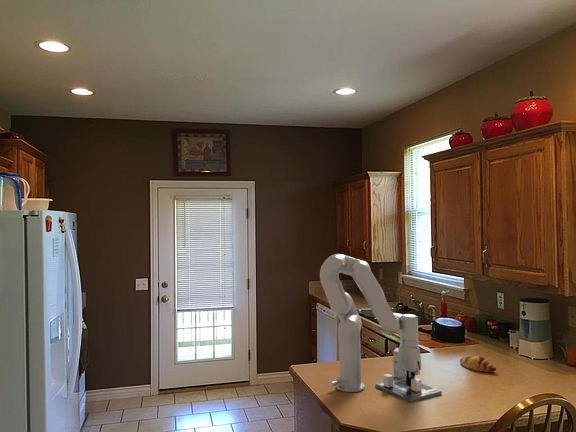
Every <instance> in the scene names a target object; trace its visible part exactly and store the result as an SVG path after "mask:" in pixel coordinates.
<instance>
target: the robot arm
mask: <svg viewBox="0 0 576 432" xmlns="http://www.w3.org/2000/svg"><path fill="white" fill-rule="evenodd" d="M339 274H344V275H348V276H350V277H352V279H353V280H354V282H355V283H356V285H357V287H358V288H359V290H360V292H361V293H362V295H363V297H364V298H365V300H366V302H367V305H368V306H369V308H370V310H371V311H372V314H373V315H374V317H375V319H376V320H377V322H378V324H379V325H380V327H381V329H382V330H383V331H384V332H385V333H386V334H390V335H393V334H397V332H398V331H399V330H400V338H399V342H400V344H399V345H398V348H399V351H398V366H399V367H400V368H401V369H402V370H403V371H404V373H405V376H406V386H409V387H410V386H411V379H414V377H415V378H416V376H418V375H420V374H421V372H420V371H421V369H422V361H421V360H422V359H421V357H422V356H421V351H420V347H419V319H418V316H417V315H415V314H411V313H405V314H404V313H403V314H402V313H396V312H393V310H392V309H391V307H390V304H388V301H387V298H386V295H385V292H384V290H383V288H382V287H381V285H380V283H379V282H378V280H377V278H376V277H375V275H374V274H373V272H372V270H371V266H370V265H369V263H368V262H367V261H365V260H363V259H362V260H361V259H358V258H355V257H351V256H349V255H346V254H341V253H334V254H332V255H330V256H328V257H327V258H326V259H325V260H324V262H323V263H322V264H321V266H320V269H319V281H320V283H321V286H322V288H323V291H324V293H325V296H326V299H327V301H328V304H329V306H330V309H331V311H332V312H333V314H335V315H337V316H338V320H339V321H340V322H339V323H338V328H337V329H338V330H337V332H338V348H339V349H338V359H339V377H337V379H336V380H333V381H331V382H330V386H331V387H334V386H336V387H335V388H336V389H337V390H339V391H342V392H346V393H359V392H362V391H364V390H365V386H366V385H365V384H364V383H363V382H362V362H361V361H362V357H361V355H362V354H361V329H362V325H363V323H362V319H361V317H360V313H359V311H358V309H357V306H356V305H355V301H354V299H353V297H352V295H350V294H349V293H348V292H346V291H345V290H344V287H343V284H342V281H341V280H340V278H339Z"/></svg>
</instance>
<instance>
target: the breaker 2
mask: <svg viewBox="0 0 576 432" xmlns="http://www.w3.org/2000/svg"><path fill="white" fill-rule="evenodd" d="M422 384H423V382H422V379H421V378H417V377H415V378H414V379H411V390H413V391H416V392H418V391H422Z"/></svg>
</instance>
